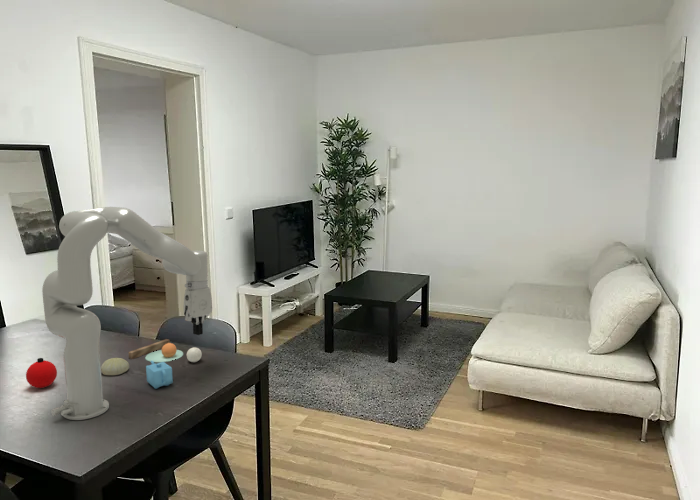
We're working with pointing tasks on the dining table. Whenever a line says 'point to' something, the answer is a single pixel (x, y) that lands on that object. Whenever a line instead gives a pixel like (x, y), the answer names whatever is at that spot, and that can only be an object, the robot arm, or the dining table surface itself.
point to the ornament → (41, 373)
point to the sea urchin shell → (114, 366)
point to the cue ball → (194, 354)
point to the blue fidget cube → (159, 374)
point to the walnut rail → (147, 349)
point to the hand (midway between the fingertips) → (197, 333)
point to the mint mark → (162, 356)
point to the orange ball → (169, 350)
